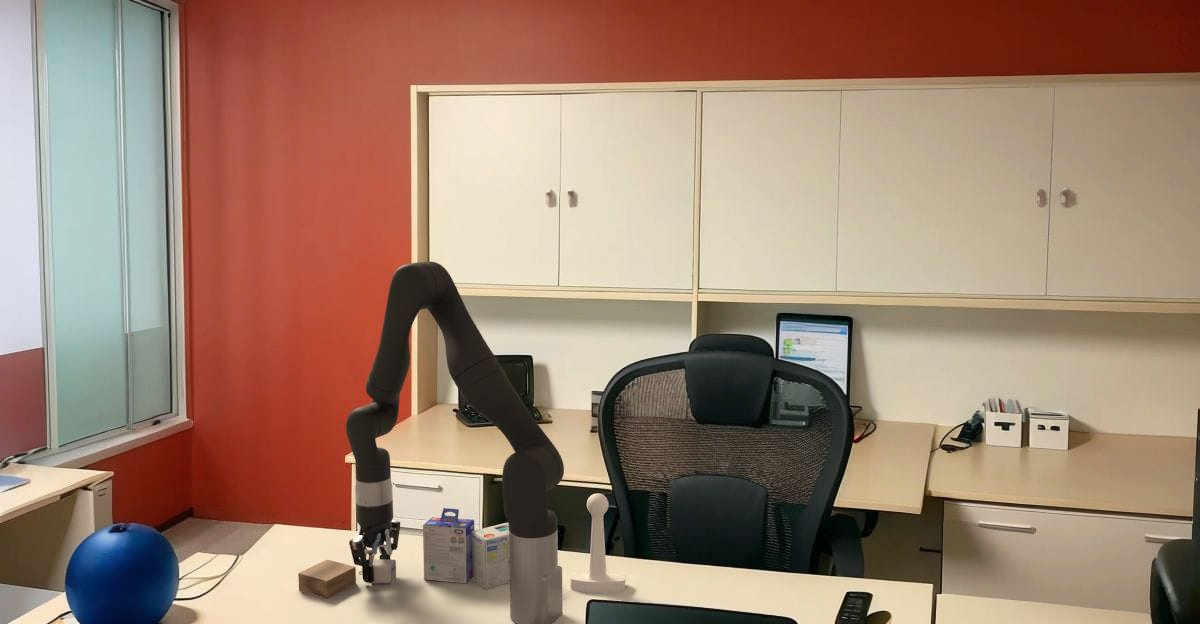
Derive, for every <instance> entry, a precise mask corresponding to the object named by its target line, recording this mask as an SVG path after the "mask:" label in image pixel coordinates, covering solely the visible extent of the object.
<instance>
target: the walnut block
mask: <svg viewBox="0 0 1200 624" xmlns="http://www.w3.org/2000/svg"><path fill="white" fill-rule="evenodd" d="M356 569H357V568H356V566H353V565H350V564H346V563H342V562H339V561H335V560H330V559H325V560H323V561H321V562H319V563H317V564H315V565H313V566H310V567H309V568H306V569H304V570H302V571H300V572H298V574H297V575H298V590H299V591H300V592H303V593H306V594H309V595H314V596H318V597H320V598H324V599H330V598H332V597H334V596H336V595H338V594H339V593H341V592H344V591H345V590H347V589H349V588H351V587H353V586H355V585H356V584H357V571H356Z"/></svg>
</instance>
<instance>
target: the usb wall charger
mask: <svg viewBox="0 0 1200 624" xmlns="http://www.w3.org/2000/svg"><path fill="white" fill-rule="evenodd" d="M373 568H374V582H372V583H371V584H393V583H394V581H395V579H396V578H397V561H396V559H391V560H381V559H380V558H379V559H375V558H374V561H373ZM358 573H359V575H360V576H363V575H362V570H361V571H359V572H358Z"/></svg>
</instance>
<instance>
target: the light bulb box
mask: <svg viewBox="0 0 1200 624" xmlns="http://www.w3.org/2000/svg"><path fill="white" fill-rule="evenodd" d="M471 543H472V572H473V577H472V580H474V581H475V582H476V583H477V584H479V585H480V586H481V587H482V588H484V589H485V590H487V589H491V588H495V587H498V586H502V585H506V584H510V571H509V523H508V521H506V522H504V523H500V524H496V525H493V526H487V527H484V528H480V529H474V531H471Z"/></svg>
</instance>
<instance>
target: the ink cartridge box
mask: <svg viewBox="0 0 1200 624" xmlns="http://www.w3.org/2000/svg"><path fill="white" fill-rule="evenodd" d="M459 512H460V509H459V508H449V507H448V508H447V507H443V508H442V512H441V516H440V517H434V516H432V517H431V518H430V519H429V520H427V521H426V522H425V523H424V524H423V525H422V535H423V536H422V540H423V541H422V543H423V546H422V547H423V548H422V549H423V580H425V581H439V582H449V583H459V584H460V583H462V584H467V583H468V582H469V581H470V580H471V579H473V572H472V543H471V531H474V530H475V519H471V518H459V516H460V515H459ZM446 513H452V514H455V515H446Z"/></svg>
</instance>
